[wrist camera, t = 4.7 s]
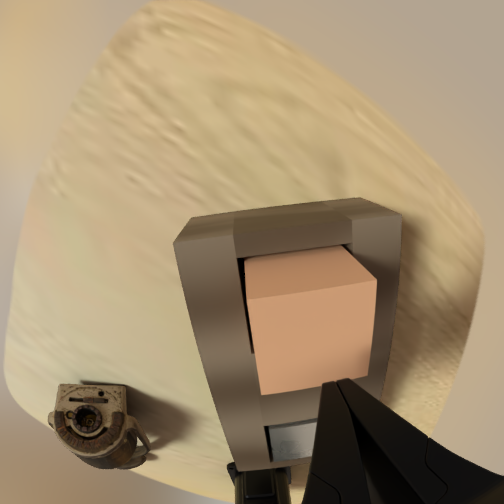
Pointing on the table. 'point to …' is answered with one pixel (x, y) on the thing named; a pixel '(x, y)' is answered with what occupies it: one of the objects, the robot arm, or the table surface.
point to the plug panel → (237, 316)
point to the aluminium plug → (292, 439)
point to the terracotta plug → (309, 317)
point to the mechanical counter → (98, 426)
